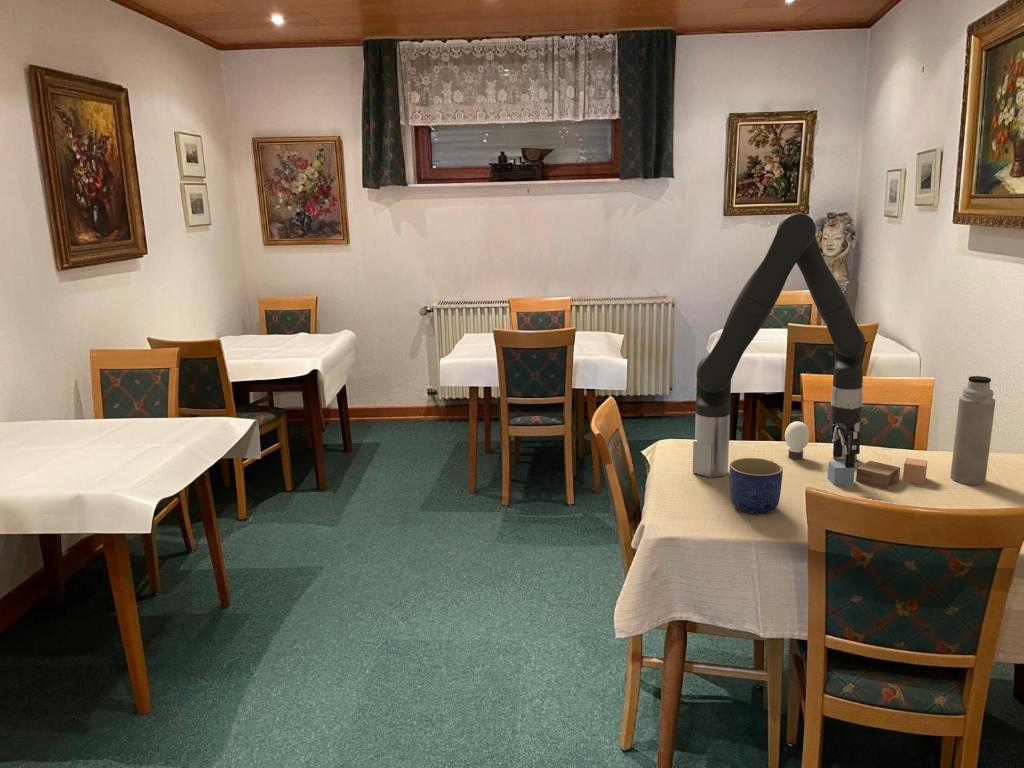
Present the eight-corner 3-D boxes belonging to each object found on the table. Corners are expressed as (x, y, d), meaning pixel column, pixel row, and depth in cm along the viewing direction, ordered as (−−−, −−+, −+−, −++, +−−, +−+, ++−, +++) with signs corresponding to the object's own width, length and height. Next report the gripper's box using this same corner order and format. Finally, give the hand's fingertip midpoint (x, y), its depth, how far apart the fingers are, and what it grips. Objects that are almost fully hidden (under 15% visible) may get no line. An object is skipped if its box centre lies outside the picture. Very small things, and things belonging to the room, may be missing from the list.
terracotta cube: (923, 484, 194) (925, 466, 193) (902, 480, 197) (904, 463, 196) (925, 478, 198) (927, 460, 197) (904, 475, 201) (906, 457, 200)
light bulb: (783, 460, 215) (785, 424, 213) (784, 452, 221) (786, 417, 219) (807, 462, 213) (810, 425, 210) (808, 454, 219) (810, 419, 216)
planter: (731, 495, 191) (732, 455, 188) (781, 501, 186) (784, 460, 184) (725, 514, 180) (726, 472, 177) (779, 520, 175) (781, 477, 172)
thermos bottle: (948, 472, 201) (959, 373, 194) (983, 476, 198) (995, 374, 191) (952, 482, 194) (963, 379, 187) (987, 486, 191) (1000, 381, 184)
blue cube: (853, 485, 195) (854, 467, 194) (834, 485, 195) (835, 467, 194) (846, 478, 200) (847, 461, 199) (827, 478, 200) (828, 461, 199)
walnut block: (886, 489, 192) (888, 475, 191) (855, 482, 198) (856, 468, 197) (899, 481, 197) (900, 467, 196) (868, 474, 203) (869, 460, 202)
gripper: (822, 397, 200) (819, 453, 203) (841, 411, 186) (838, 471, 189) (850, 396, 199) (847, 453, 203) (872, 410, 185) (868, 470, 189)
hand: (843, 462), depth 196 cm, fingers open, 8 cm apart
